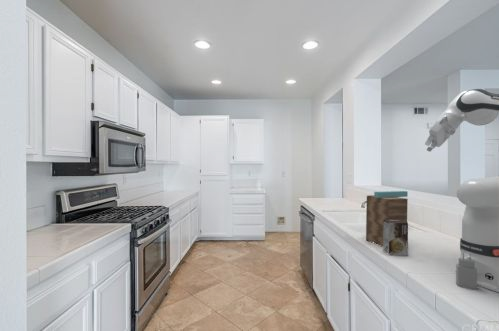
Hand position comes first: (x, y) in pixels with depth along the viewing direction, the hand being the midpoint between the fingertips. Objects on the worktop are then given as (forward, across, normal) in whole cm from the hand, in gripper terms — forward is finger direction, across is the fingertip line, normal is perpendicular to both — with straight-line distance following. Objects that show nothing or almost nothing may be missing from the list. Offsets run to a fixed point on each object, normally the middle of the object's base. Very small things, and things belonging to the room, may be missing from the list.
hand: (427, 147), depth 118 cm
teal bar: (+28, +18, +3) cm, 33 cm away
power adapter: (+42, -12, -42) cm, 60 cm away
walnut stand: (+51, +21, -9) cm, 56 cm away
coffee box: (+51, +8, -17) cm, 54 cm away
